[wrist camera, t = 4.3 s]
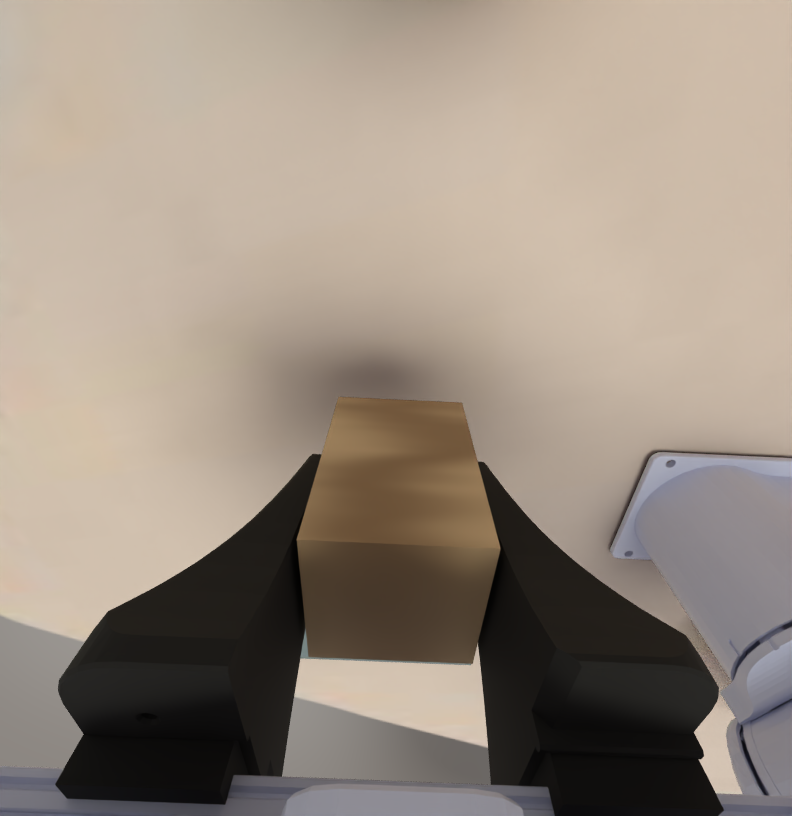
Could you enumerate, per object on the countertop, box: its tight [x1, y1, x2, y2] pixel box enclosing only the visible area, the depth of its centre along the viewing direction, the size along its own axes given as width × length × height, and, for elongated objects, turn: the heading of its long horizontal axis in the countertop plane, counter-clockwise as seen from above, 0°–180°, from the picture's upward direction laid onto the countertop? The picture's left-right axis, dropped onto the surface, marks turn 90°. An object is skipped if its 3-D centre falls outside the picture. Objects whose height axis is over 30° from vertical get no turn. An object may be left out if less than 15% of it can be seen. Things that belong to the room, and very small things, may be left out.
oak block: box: [297, 397, 501, 664], centre depth 12 cm, size 4×4×6 cm
